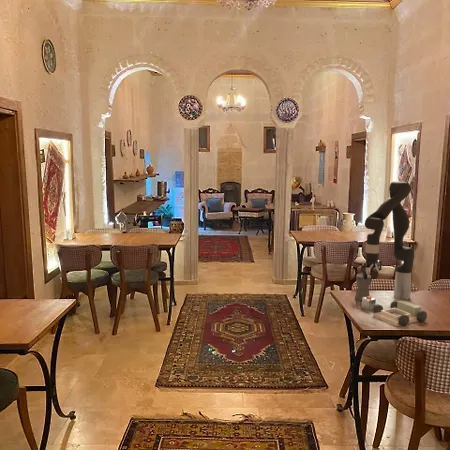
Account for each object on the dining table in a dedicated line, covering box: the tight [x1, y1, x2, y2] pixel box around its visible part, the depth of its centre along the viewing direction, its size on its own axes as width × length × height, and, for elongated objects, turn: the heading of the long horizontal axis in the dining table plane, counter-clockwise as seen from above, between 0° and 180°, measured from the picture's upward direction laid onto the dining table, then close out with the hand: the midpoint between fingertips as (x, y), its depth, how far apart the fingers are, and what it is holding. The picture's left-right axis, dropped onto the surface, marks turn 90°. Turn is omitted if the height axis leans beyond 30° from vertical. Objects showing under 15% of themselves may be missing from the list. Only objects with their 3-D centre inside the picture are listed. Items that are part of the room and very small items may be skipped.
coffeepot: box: [354, 272, 373, 301], centre depth 280 cm, size 15×9×18 cm, turn 128°
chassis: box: [372, 300, 428, 327], centre depth 247 cm, size 22×20×7 cm
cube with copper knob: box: [361, 295, 377, 311], centre depth 263 cm, size 6×6×7 cm
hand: (370, 278), depth 260 cm, fingers open, 8 cm apart
